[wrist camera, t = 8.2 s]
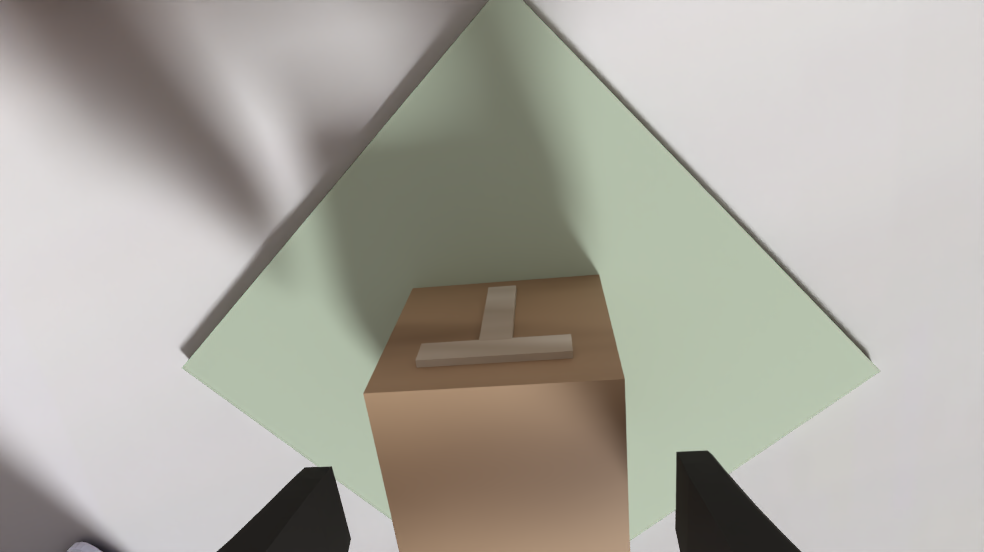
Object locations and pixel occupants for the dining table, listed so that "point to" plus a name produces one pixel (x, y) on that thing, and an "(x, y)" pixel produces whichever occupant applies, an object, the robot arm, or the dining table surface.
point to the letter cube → (503, 419)
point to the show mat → (531, 270)
